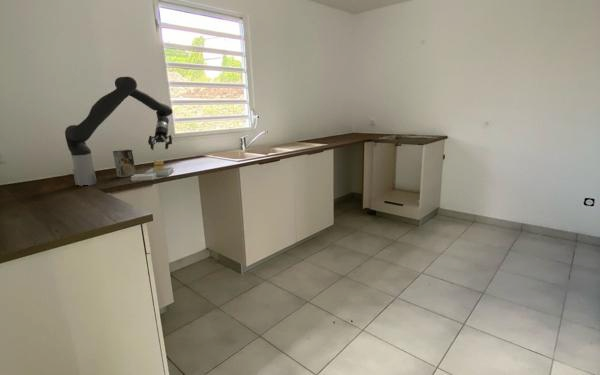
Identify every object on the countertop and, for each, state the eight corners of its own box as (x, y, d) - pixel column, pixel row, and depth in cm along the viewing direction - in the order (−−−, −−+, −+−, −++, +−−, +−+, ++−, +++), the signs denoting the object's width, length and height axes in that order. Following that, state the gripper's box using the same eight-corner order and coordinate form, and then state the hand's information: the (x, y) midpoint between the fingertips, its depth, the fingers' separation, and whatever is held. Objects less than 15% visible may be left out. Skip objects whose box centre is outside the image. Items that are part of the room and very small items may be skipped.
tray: (146, 177, 199) (145, 172, 198) (152, 172, 211) (152, 168, 211) (168, 175, 200) (167, 171, 200) (173, 171, 213) (173, 167, 212)
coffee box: (131, 173, 211) (127, 149, 207) (136, 174, 207) (132, 149, 203) (116, 176, 204) (112, 151, 200) (121, 177, 200) (117, 151, 196)
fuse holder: (131, 180, 190) (130, 176, 189) (135, 178, 196) (135, 174, 196) (152, 179, 191) (152, 175, 190) (156, 177, 198) (155, 173, 197)
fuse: (155, 173, 205) (153, 161, 203) (156, 173, 206) (154, 160, 204) (163, 173, 205) (162, 160, 203) (164, 172, 207) (162, 160, 205)
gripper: (148, 126, 212) (145, 145, 204) (171, 125, 214) (169, 144, 206) (152, 133, 219) (149, 153, 210) (174, 133, 220) (172, 152, 212)
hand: (159, 148), depth 208 cm, fingers open, 8 cm apart
